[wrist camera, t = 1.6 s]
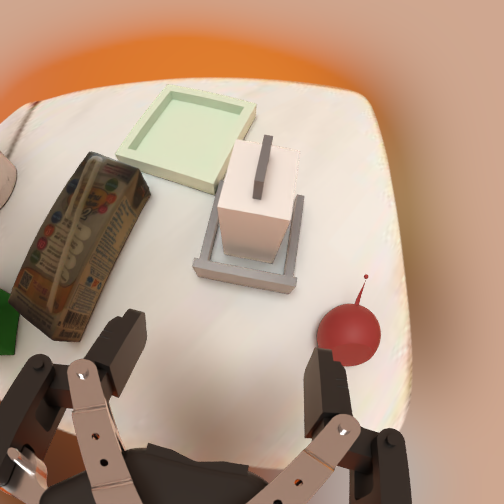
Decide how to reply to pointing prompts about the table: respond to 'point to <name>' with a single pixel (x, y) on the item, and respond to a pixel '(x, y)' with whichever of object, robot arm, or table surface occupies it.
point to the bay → (247, 275)
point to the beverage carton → (78, 246)
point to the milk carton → (7, 325)
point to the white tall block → (257, 199)
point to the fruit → (350, 333)
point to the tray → (188, 136)
